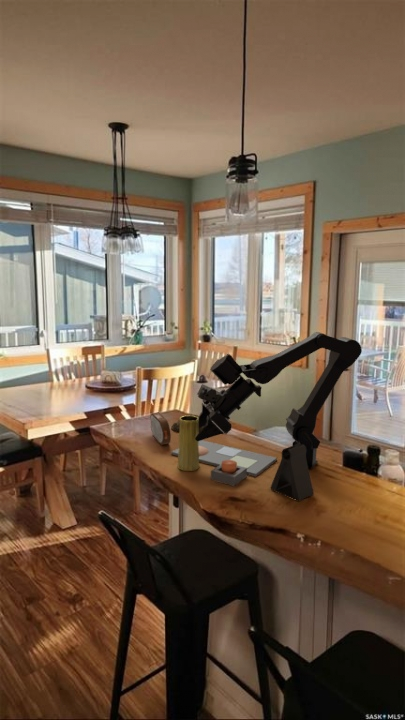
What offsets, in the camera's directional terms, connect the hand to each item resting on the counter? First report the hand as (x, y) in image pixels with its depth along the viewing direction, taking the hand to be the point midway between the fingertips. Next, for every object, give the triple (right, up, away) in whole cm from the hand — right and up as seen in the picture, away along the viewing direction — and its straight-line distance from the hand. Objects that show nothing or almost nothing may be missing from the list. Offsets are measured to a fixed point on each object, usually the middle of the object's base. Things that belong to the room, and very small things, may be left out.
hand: (194, 434), depth 131 cm
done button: (+9, -9, -6) cm, 14 cm away
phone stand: (+25, -13, -12) cm, 30 cm away
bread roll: (-2, -4, +37) cm, 37 cm away
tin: (-12, -6, +23) cm, 26 cm away
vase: (-2, -10, +2) cm, 10 cm away
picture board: (+8, -8, +9) cm, 15 cm away
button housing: (+9, -11, -5) cm, 15 cm away
